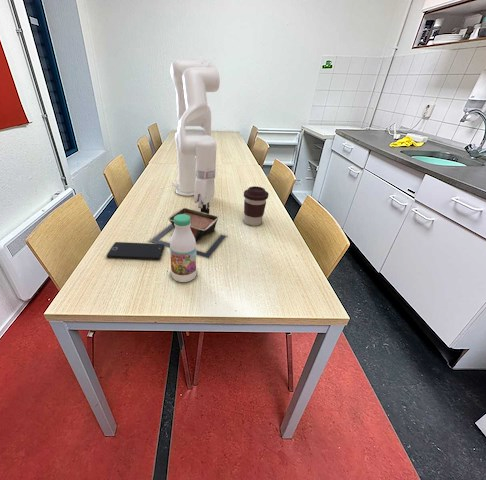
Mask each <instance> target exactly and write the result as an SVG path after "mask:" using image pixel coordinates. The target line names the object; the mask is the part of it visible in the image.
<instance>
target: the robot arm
mask: <svg viewBox="0 0 486 480" xmlns="http://www.w3.org/2000/svg"><path fill="white" fill-rule="evenodd" d="M170 76H171V81H172V84H173V86H174V89H175V93H176V116H177V117H176V118H177V123H178V124H177V131H176V132H175V134H174V142H175V143H174V144H175V147H176V156H177V157H176V158H177V181H173V182H172V187H175V188H176V189H175V193H176V194H177V195H179V196H183V197H191V196H193V197H194V198H193V202H194V204H197V208H198V209H200V212H204V213H207V214H210V207H211V202H212V200H213V199H214V197H215V192H216V190H215V189H216V187H215V179H216V170H217V169H216V168H217V141H216V140H215V138H214V137H213V136H212V111H211V108H210V106H209V105H208V97H207V93H216V92H217V91H218V90H219V88H220V85H221V80H220V79H221V77H220V73H219V71H218V69H217V66H215V64H214V63H213V61H211V60H209V59H198V58H197V59H196V58H195V59H194V58H177V59H174V60H173V61H172V62H171V63H170ZM186 127H200V128H186Z"/></svg>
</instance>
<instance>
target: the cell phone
mask: <svg viewBox="0 0 486 480" xmlns="http://www.w3.org/2000/svg"><path fill="white" fill-rule="evenodd" d="M164 249H165V246H164V244H157V243H151V242H150V243H148V242H124V241H115V242H114V244H113V245H112V246H111V248H110V249H109V251H108V252H107V253H106V257H107V258H114V259H133V260H134V259H135V260H136V259H137V260H155V261H156V260H157V261H159V260H161V257H162V255H163V252H164Z"/></svg>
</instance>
